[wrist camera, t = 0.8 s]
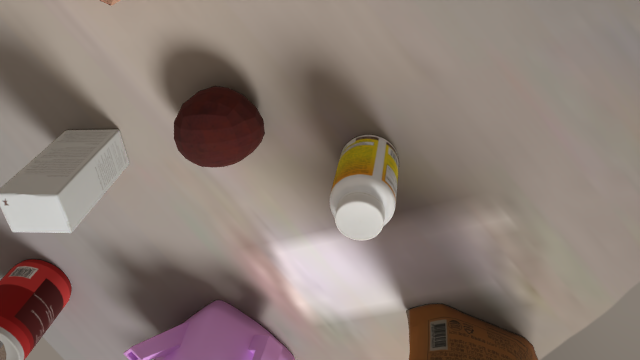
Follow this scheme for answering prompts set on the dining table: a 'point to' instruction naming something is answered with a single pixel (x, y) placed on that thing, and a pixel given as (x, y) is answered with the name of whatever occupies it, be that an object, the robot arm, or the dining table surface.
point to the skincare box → (64, 181)
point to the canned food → (30, 304)
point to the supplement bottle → (365, 187)
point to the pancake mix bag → (461, 337)
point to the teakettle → (213, 339)
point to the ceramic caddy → (110, 1)
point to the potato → (217, 127)
